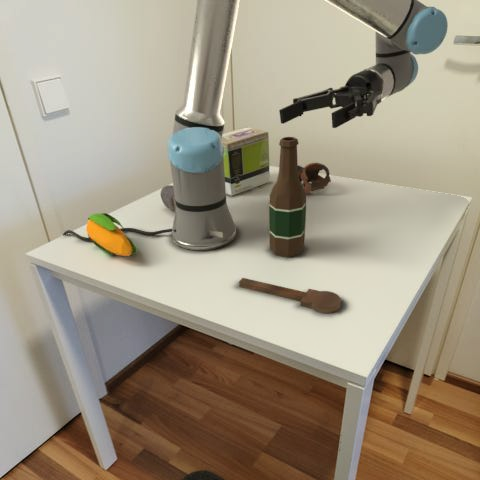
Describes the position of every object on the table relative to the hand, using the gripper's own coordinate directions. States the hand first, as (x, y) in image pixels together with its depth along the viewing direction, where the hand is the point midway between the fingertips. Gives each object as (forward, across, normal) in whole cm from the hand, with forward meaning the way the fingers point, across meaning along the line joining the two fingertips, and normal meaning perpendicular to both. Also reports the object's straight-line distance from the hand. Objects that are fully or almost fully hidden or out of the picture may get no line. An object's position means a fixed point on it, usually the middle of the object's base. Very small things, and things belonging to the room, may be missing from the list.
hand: (306, 118), depth 91 cm
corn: (+36, +30, -20) cm, 51 cm away
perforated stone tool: (+13, +36, -22) cm, 44 cm away
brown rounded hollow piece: (-22, +20, -27) cm, 40 cm away
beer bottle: (+10, 0, -25) cm, 27 cm away
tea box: (-10, +37, -24) cm, 46 cm away
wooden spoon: (+23, -13, -25) cm, 36 cm away
